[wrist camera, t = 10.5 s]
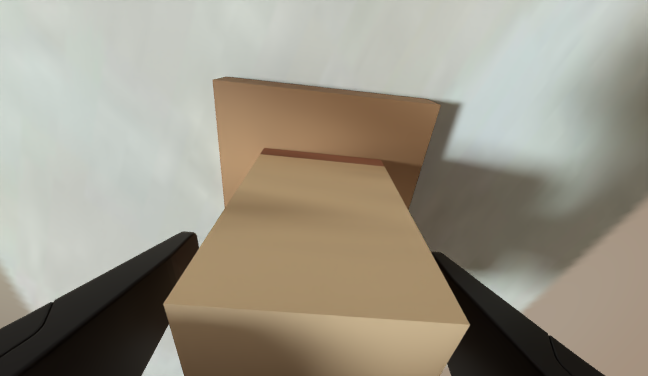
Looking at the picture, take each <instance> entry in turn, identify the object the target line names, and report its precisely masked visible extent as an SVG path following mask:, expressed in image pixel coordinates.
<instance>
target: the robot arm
mask: <svg viewBox="0 0 648 376" xmlns="http://www.w3.org/2000/svg"><path fill="white" fill-rule="evenodd" d="M198 249H199V246H198V240H197V235H196V233H194V232H181V233H179V234H177V235H175V236H173V237H171V238H169V239H167V240H166V241H164V242H162V243H160V244H158V245H156V246H154V247H153V248H151V249H149V250H147V251H145V252H143V253H141V254H140V255H138V256H136V257H134V258H132V259H130V260H128V261H127V262H125V263H123V264H121V265H119V266H117V267H115V268H113V269H112V270H110V271H108V272H106V273H104V274H102V275H100V276H99V277H97V278H95V279H93V280H91V281H89V282H87V283H86V284H84V285H82V286H80V287H78V288H76V289H74V290H73V291H71V292H69V293H67V294H65V295H63V296H61V297H60V298H58V299H56V300H55V301H54V302H50V303H48V304H46V305H45V306H43V307H41V308H39V309H37V310H35V311H33V312H32V313H30V314H28V315H26V316H24V317H22V318H20V319H18V320H16V321H14V322H12V323H11V324H9V325H7V326H5V327H3V328H1V329H0V376H141V375H142V373H143V372H144V370H145V368H146V366H147V364H148V362H149V360H150V358H151V357H152V355H153V353H154V351H155V349H156V347H157V345H158V343H159V342H160V340H161V338H162V336H163V334H164V332H165V330H166V328H167V327H168V325H169V322H168V318H167V315H166V311H165V308H164V304H163V303H164V302H165V300H166V299H167V297H168V296H169V294H170V293H171V291H172V290H173V288H174V286H175V285H176V283H177V282H178V280H179V279H180V277H181V276H182V274H183V273H184V271H185V269H186V268H187V266H188V265H189V263H190V262H191V260H192V259H193V257H194V256H195V254H196V252H197V251H198ZM431 253H432V255H433V257H434V259H435V261H436V263H437V265H438V266H439V268H440V270H441V272H442V274H443V276H444V277H445V279H446V281H447V283H448V285H449V287H450V289H451V290H452V292H453V294H454V296H455V298H456V300H457V302H458V303H459V305H460V307H461V309H462V311H463V313H464V314H465V316H466V318H467V320H468V322H469V324H470V326H469V328H468V329H467V331H466V333H465V334H464V336H463V338H462V339H461V341H460V343H459V344H458V346H457V348H456V349H455V351H454V353H453V354H452V356H451V358H450V359H449V361H448V363H447V365H448V368H449V370H450V373H451V376H605V375H603V374H602V373H600V372H599V371H598V370H596V369H595V368H594V367H592V366H591V365H589V364H588V363H587V362H585V361H584V360H582V359H581V358H580V357H578V356H577V355H576V354H574V353H573V352H572V351H570V350H569V349H568V348H566V347H565V346H564V345H562V344H561V343H560V342H558V341H557V340H556V339H554V338H553V337H552V336H548V333H547V332H545V331H544V330H542V329H541V328H540V327H539V326H537V325H536V324H535V323H533V322H532V321H531V320H529V319H528V318H527V317H525V316H524V315H523V314H522V313H520V312H519V311H518V310H516V309H515V308H514V307H512V306H511V305H510V304H508V303H507V302H506V301H504V300H503V299H502V298H500V297H499V296H498V295H497V294H495V293H494V292H493V291H491V290H490V289H489V288H487V287H486V286H485V285H483V284H482V283H481V282H479V281H478V280H477V279H475V278H474V277H473V276H472V275H470V274H469V273H468V272H466V271H465V270H464V269H462V268H461V267H460V266H458V265H457V264H456V263H454V262H453V261H452V260H450V259H449V258H448V257H446V256H445V255H444V254H442V253H440V252H431Z"/></svg>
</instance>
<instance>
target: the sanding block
mask: <svg viewBox="0 0 648 376" xmlns="http://www.w3.org/2000/svg"><path fill="white" fill-rule="evenodd" d="M163 304H164V308H165V311H166V315H167V318H168V322H169V325H170V329H171V332H172V335H173V339H174V342H175V346H176V349H177V353H178V356H179V360H180V363H181V367H182V370H183V373H184V376H440V374H441V372H442V371H443V369H444V368H445V366H446V364H447V363H448V361H449V359H450V358H451V356H452V354H453V353H454V351H455V349H456V348H457V346H458V344H459V343H460V341H461V339H462V338H463V336H464V334H465V333H466V331H467V329H468V328H469V326H470V324H469V322H468V320H467V318H466V316H465V314H464V313H463V311H462V309H461V307H460V305H459V303H458V302H457V300H456V298H455V296H454V294H453V292H452V290H451V289H450V287H449V285H448V283H447V281H446V279H445V277H444V276H443V274H442V272H441V270H440V268H439V266H438V265H437V263H436V261H435V259H434V257H433V255H432V253H431V252H430V250H429V248H428V246H427V244H426V242H425V240H424V239H423V237H422V235H421V233H420V231H419V229H418V228H417V226H416V224H415V222H414V220H413V218H412V216H411V215H410V213H409V211H408V209H407V207H406V205H405V203H404V202H403V200H402V198H401V196H400V194H399V192H398V191H397V189H396V187H395V185H394V183H393V181H392V179H391V178H390V176H389V174H388V172H387V170H386V168H385V166H384V165H383V163H382V161H381V160H379V159H369V158H359V157H349V156H339V155H329V154H319V153H309V152H299V151H289V150H279V149H269V148H264V149H263V150H262V152H261V154H260V155H259V157H258V158H257V160H256V161H255V163H254V164H253V166H252V167H251V169H250V171H249V172H248V174H247V175H246V177H245V178H244V180H243V181H242V183H241V184H240V186H239V188H238V189H237V191H236V192H235V194H234V195H233V197H232V198H231V200H230V201H229V203H228V205H227V206H226V208H225V209H224V211H223V212H222V214H221V215H220V217H219V218H218V220H217V222H216V223H215V225H214V226H213V228H212V229H211V231H210V232H209V234H208V235H207V237H206V239H205V240H204V242H203V243H202V245H201V246H200V248H199V249H198V251H197V252H196V254H195V256H194V257H193V259H192V260H191V262H190V263H189V265H188V266H187V268H186V269H185V271H184V273H183V274H182V276H181V277H180V279H179V280H178V282H177V283H176V285H175V286H174V288H173V290H172V291H171V293H170V294H169V296H168V297H167V299H166V300H165V302H164V303H163Z"/></svg>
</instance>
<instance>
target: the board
mask: <svg viewBox="0 0 648 376" xmlns="http://www.w3.org/2000/svg"><path fill="white" fill-rule="evenodd" d="M213 89H214V99H215V110H216V120H217V131H218V141H219V152H220V162H221V173H222V183H223V194H224V204H225V208H226V206H227V205H228V203H229V201H230V200H231V198H232V197H233V195H234V194H235V192H236V191H237V189H238V188H239V186H240V184H241V183H242V181H243V180H244V178H245V177H246V175H247V174H248V172H249V171H250V169H251V167H252V166H253V164H254V163H255V161H256V160H257V158H258V157H259V155H260V154H261V152H262V150H263V149H264V148H269V149H279V150H289V151H299V152H309V153H319V154H329V155H339V156H349V157H359V158H369V159H379V160H381V161H382V163H383V165H384V166H385V168H386V170H387V172H388V174H389V176H390V178H391V179H392V181H393V183H394V185H395V187H396V189H397V191H398V192H399V194H400V196H401V198H402V200H403V202H404V203H405V205H406V207H407V209H409V206H410V203H411V200H412V196H413V193H414V190H415V187H416V184H417V180H418V177H419V174H420V171H421V167H422V164H423V161H424V158H425V155H426V151H427V148H428V145H429V142H430V138H431V135H432V132H433V129H434V125H435V122H436V119H437V116H438V113H439V109H440V106H441V105H440V104H437V103H435V102H433V101H430V100H428V99H422V98H413V97H404V96H395V95H386V94H377V93H368V92H359V91H350V90H341V89H332V88H323V87H314V86H305V85H296V84H287V83H278V82H269V81H260V80H251V79H243V78H234V77H223V78H218V79H214V80H213Z"/></svg>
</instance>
